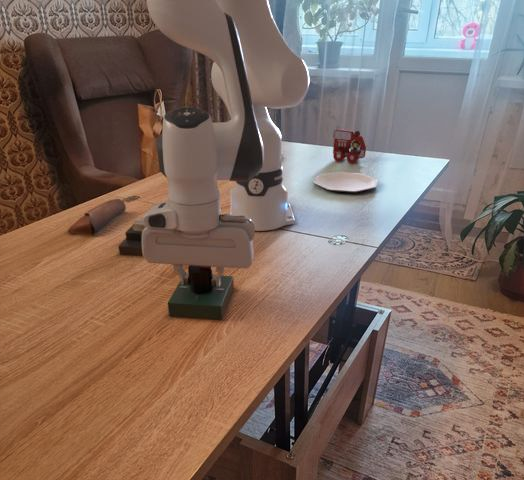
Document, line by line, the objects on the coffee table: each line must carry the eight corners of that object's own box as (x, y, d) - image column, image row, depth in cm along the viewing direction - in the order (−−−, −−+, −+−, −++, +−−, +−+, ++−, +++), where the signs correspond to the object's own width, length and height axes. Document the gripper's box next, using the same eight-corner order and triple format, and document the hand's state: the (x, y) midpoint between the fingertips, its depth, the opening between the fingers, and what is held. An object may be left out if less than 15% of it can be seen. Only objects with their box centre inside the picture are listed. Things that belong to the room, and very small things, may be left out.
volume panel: (186, 286, 99) (184, 272, 97) (233, 289, 98) (233, 275, 96) (169, 316, 89) (167, 301, 88) (222, 320, 88) (221, 305, 87)
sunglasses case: (98, 208, 136) (106, 188, 132) (120, 222, 137) (128, 203, 133) (65, 232, 122) (72, 211, 118) (90, 247, 123) (97, 227, 119)
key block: (140, 232, 123) (137, 217, 121) (169, 233, 122) (167, 218, 120) (119, 255, 112) (116, 238, 109) (151, 256, 111) (149, 240, 109)
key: (138, 226, 116) (137, 218, 115) (153, 227, 116) (151, 218, 115) (133, 232, 114) (132, 223, 112) (148, 232, 113) (146, 224, 112)
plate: (374, 197, 144) (374, 192, 144) (309, 192, 149) (309, 187, 148) (378, 179, 160) (379, 174, 159) (320, 174, 164) (320, 170, 163)
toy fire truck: (361, 164, 174) (364, 133, 168) (328, 161, 179) (331, 130, 173) (366, 160, 180) (369, 130, 174) (334, 156, 184) (336, 127, 178)
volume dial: (187, 293, 91) (184, 269, 88) (194, 282, 94) (192, 259, 91) (209, 295, 90) (207, 271, 87) (216, 284, 93) (214, 261, 91)
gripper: (257, 210, 85) (257, 280, 93) (145, 205, 87) (155, 274, 95) (251, 222, 80) (252, 296, 88) (133, 217, 82) (144, 289, 90)
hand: (201, 284), depth 91 cm, fingers closed on volume dial, 4 cm apart
